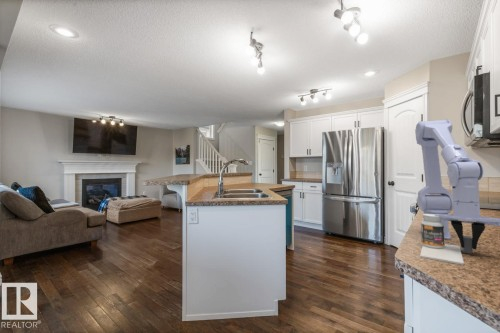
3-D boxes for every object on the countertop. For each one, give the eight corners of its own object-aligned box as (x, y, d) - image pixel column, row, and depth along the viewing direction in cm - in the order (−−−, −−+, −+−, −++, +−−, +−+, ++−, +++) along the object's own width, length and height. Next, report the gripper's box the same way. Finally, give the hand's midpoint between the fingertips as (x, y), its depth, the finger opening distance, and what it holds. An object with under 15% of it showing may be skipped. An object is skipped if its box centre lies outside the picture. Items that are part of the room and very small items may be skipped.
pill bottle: (424, 247, 70) (422, 215, 70) (420, 242, 75) (418, 213, 75) (447, 250, 67) (445, 217, 68) (441, 244, 72) (440, 214, 73)
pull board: (423, 242, 77) (423, 229, 77) (470, 249, 69) (470, 234, 70) (420, 257, 63) (419, 241, 63) (478, 267, 56) (477, 249, 56)
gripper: (434, 201, 68) (436, 246, 67) (505, 204, 59) (508, 257, 58) (434, 199, 73) (436, 240, 73) (499, 202, 64) (502, 250, 63)
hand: (468, 247), depth 66 cm, fingers closed on pull board, 2 cm apart
